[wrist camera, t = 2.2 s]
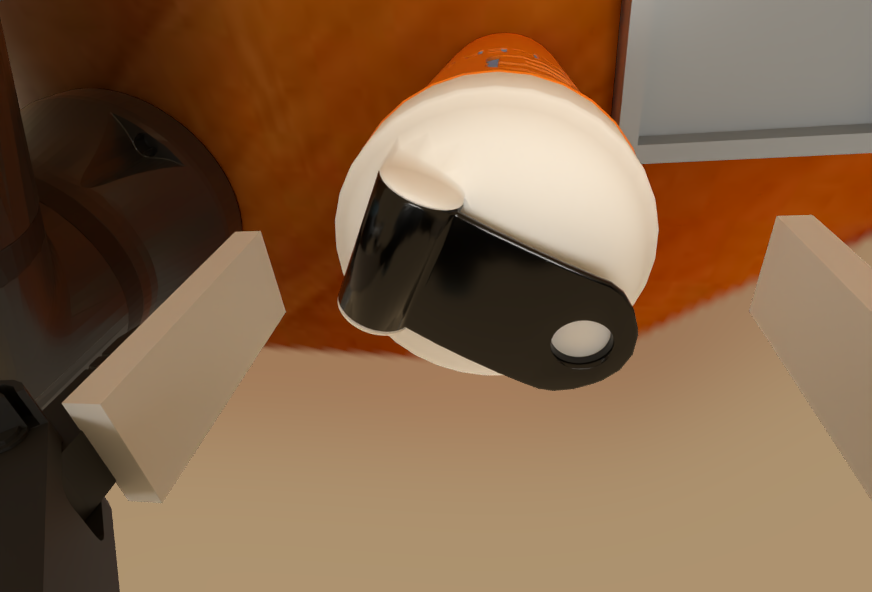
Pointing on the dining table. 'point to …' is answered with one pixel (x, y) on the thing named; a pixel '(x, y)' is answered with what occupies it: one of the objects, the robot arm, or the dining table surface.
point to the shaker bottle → (499, 223)
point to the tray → (744, 78)
